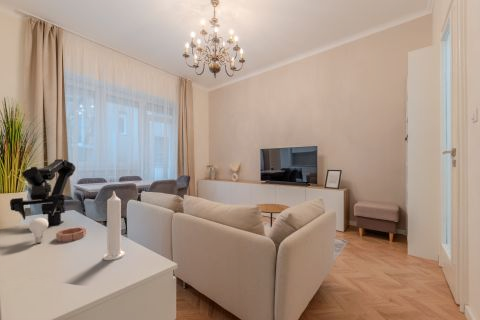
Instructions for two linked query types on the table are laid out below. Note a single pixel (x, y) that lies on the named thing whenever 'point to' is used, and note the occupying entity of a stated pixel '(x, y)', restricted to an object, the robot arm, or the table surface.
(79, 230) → the holder
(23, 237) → the table surface
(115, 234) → the candle
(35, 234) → the lightbulb
